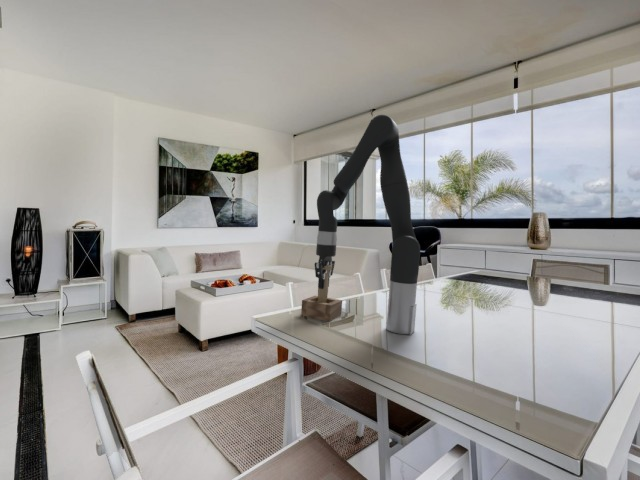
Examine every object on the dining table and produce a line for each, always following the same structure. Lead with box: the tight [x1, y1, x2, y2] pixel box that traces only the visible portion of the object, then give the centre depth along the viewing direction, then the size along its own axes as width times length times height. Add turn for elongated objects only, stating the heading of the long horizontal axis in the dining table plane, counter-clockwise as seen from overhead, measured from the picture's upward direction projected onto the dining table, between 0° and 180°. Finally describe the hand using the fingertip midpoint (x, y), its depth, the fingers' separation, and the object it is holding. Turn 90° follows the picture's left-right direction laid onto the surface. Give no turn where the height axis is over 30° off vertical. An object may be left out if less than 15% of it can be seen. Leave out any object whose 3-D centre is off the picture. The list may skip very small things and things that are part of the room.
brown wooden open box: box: [300, 295, 343, 322], centre depth 129 cm, size 12×11×6 cm
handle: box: [317, 265, 332, 303], centre depth 128 cm, size 5×6×15 cm
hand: (323, 287), depth 128 cm, fingers closed on handle, 4 cm apart
